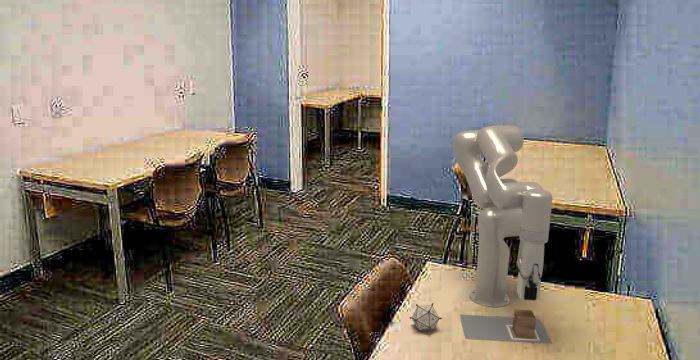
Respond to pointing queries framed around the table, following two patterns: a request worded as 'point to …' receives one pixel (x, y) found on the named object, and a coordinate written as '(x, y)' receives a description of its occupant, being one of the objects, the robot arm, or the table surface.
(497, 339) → the board
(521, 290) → the sage block
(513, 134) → the robot arm
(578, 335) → the table surface
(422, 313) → the game die
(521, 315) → the walnut block
